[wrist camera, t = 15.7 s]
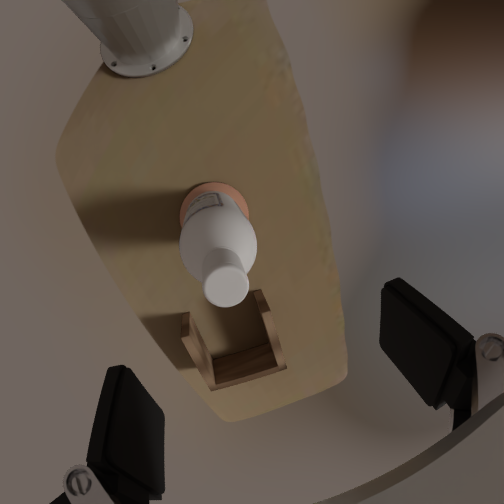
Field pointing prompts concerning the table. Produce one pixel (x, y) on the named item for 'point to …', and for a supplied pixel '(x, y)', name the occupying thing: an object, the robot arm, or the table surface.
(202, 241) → the bath foam
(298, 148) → the table surface
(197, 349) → the shelf bay
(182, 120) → the table surface
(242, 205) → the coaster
